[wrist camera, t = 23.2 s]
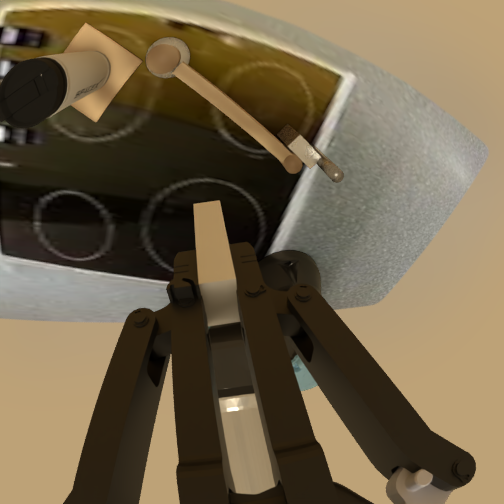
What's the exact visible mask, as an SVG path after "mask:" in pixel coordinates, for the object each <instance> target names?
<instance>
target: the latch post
mask: <svg viewBox="0 0 504 504" xmlns="http://www.w3.org/2000/svg"><path fill="white" fill-rule="evenodd" d="M277 136H278V137H279V138H280V139H281V140H282V141H283V142H284V143H285V144H286V145H287V146H288V147H289V148H290V149H291V150H292V151H293V152H294V153H295V154H296V155H297V156H298V157H299V158H300V159H301V160H302V161H303V162H304V163H305V164H306V165H307V166H308V167H309V168H310V169H311V168H312V167H313V166H314V165H315V164H317V165H318V166H319V167H320V168H321V169H322V170H323V171H324V172H325V173H326V174H327V175H328V176H329V177H330V179H331V180H332V181H333V182H336V183H338V182H340V181H342V179H343V177H344V174H343V172H342V171H341V170H340V169H339V168H338V167H337V166H336V165H335V164H334V163H333V162H332V161H330V160H329V159H328V158H327V157H326V156H325V155H324V154H323V153H322V152H321V151H320V150H318V149H317V148H316V147H315V146H314V145H313V144H309V143H308V142H307V141H306V140H305V139H304V138H303V137H302V136H301V135H300V134H299V133H298V132H297V131H295V130H294V129H293V128H292V127H291V126H290V125H288V124H287V125H286V126H285V127H284V128H283V129H282V130H281V131H280V132H279V133H278V134H277Z"/></svg>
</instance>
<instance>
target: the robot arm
mask: <svg viewBox="0 0 504 504" xmlns="http://www.w3.org/2000/svg"><path fill="white" fill-rule="evenodd" d="M194 222H195V239H196V250H192V251H185V252H178V253H177V255H176V257H175V259H174V279H173V280H172V281H171V282H170V283H169V284H168V285H167V289H166V290H167V293H168V296H169V299H170V303H169V304H168V305H167V306H166V307H164V308H162V309H160V310H158V311H155V312H153V311H152V310H150V309H147V308H139V309H137V310H134V311H133V312H132V313H130V314H129V316H128V317H127V319H126V321H125V324H124V326H123V329H122V332H121V334H120V337H119V339H118V342H117V345H116V347H115V350H114V353H113V356H112V358H111V361H110V364H109V367H108V370H107V372H106V376H105V378H104V381H103V384H102V387H101V390H100V393H99V396H98V399H97V402H96V405H95V409H94V412H93V415H92V419H91V422H90V425H89V428H88V432H87V435H86V439H85V443H84V446H83V450H82V453H81V457H80V461H79V465H78V469H77V473H76V477H75V481H74V486H73V490H72V491H71V493H70V494H69V496H68V497H67V499H66V500H65V502H64V503H63V504H139V500H140V494H141V489H142V483H143V478H144V472H145V467H146V462H147V457H148V452H149V447H150V442H151V437H152V432H153V428H154V423H155V419H156V414H157V410H158V405H159V401H160V396H161V392H162V388H163V384H164V379H165V375H166V371H167V367H168V363H169V359H170V354H172V375H173V376H172V377H173V394H174V411H175V423H176V435H177V446H178V455H179V464H178V466H177V470H176V475H177V485H178V493H179V500H180V504H374V503H372V502H370V501H368V500H366V499H365V498H363V497H361V496H360V495H358V494H356V493H355V492H353V491H352V490H350V489H348V488H347V487H345V486H343V485H341V484H339V483H336V482H333V481H332V477H331V474H330V471H329V468H328V464H327V461H326V458H325V455H324V452H323V449H322V447H321V445H320V444H319V443H318V442H317V441H316V439H315V436H314V433H313V430H312V426H311V423H310V420H309V417H308V414H307V410H306V407H305V404H304V401H303V397H302V394H301V391H305V390H308V389H311V388H313V387H316V386H317V385H318V386H319V387H320V389H321V390H322V392H323V393H324V395H325V396H326V398H327V399H328V401H329V402H330V404H331V405H332V407H333V408H334V409H335V411H336V412H337V414H338V415H339V417H340V418H341V420H342V421H343V423H344V424H345V426H346V427H347V428H348V430H349V431H350V433H351V434H352V436H353V437H354V439H355V440H356V442H357V443H358V444H359V446H360V447H361V449H362V450H363V452H364V453H365V455H366V456H367V457H368V459H369V460H370V461H371V463H372V464H373V465H374V466H375V468H376V469H377V470H378V471H379V472H380V473H381V474H382V475H383V476H384V477H386V478H387V479H388V480H389V481H388V483H387V486H386V493H387V496H388V497H389V498H390V500H391V501H392V502H393V503H394V504H444V503H445V501H446V500H447V499H448V497H449V495H450V493H451V492H452V491H453V490H455V489H457V488H460V487H462V486H464V485H466V484H467V483H469V482H470V481H471V479H472V478H473V476H474V474H475V471H476V463H475V460H474V458H473V457H472V456H471V455H470V454H469V453H468V452H466V451H464V450H463V449H461V448H459V447H458V446H456V445H454V444H452V443H451V442H449V441H447V440H446V439H444V438H443V437H441V436H439V435H438V434H436V433H434V432H433V431H431V430H430V429H429V427H428V426H427V425H426V423H425V422H424V421H423V420H422V418H421V417H420V416H419V415H418V413H417V412H416V411H415V410H414V408H413V407H412V406H411V404H410V403H409V402H408V401H407V399H406V398H405V397H404V396H403V394H402V393H401V392H400V391H399V389H398V388H397V387H396V386H395V384H394V383H393V382H392V381H391V379H390V378H389V377H388V376H387V374H386V373H385V372H384V371H383V370H382V368H381V367H380V366H379V365H378V363H377V362H376V361H375V360H374V358H373V357H372V356H371V355H370V354H369V352H368V351H367V350H366V349H365V347H364V346H363V345H362V344H361V343H360V341H359V340H358V339H357V338H356V336H355V335H354V334H353V333H352V332H351V331H350V329H349V328H348V327H347V326H346V324H345V323H344V322H343V321H342V320H341V318H340V317H339V316H338V315H337V314H336V312H335V311H334V310H333V309H332V308H331V306H330V305H329V304H328V303H327V302H326V300H325V299H324V298H323V297H322V296H321V278H320V272H319V269H318V267H317V265H316V263H315V262H314V260H313V259H312V258H311V257H310V256H308V255H307V254H305V253H302V252H299V251H281V252H277V253H274V254H271V255H269V256H267V257H265V258H264V259H262V260H261V261H259V262H258V261H257V258H256V256H255V252H254V249H253V247H252V246H251V245H250V244H249V243H248V242H243V243H236V244H229V243H228V239H227V234H226V229H225V224H224V219H223V214H222V209H221V204H220V200H219V201H212V202H205V203H198V204H194Z"/></svg>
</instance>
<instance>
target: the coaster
mask: <svg viewBox="0 0 504 504" xmlns="http://www.w3.org/2000/svg"><path fill="white" fill-rule="evenodd" d="M83 51H99V52H101V53H103V54H104V55H106V57H107V58H108V60H109V62H110V65H111V72H110V76H109V78H108V80H107V82H106V83H105V84H104V86H102V87H101V88H100V89H98V90H97V91H95V92H93V93H91V94H89V95H87V96H85V97H83V98H82V99H80V100H78V101H76V102H74V103H73V104H71V106H73V107H74V108H76V109H77V110H79V111H80V112H82V113H83V114H85V115H86V116H87V117H89V118H90V119H92V120H93V121H95V122H97V121H98V120H99V118H100V117H101V115H102V114H103V112H104V111H105V109H106V108H107V107H108V105H109V104H110V102H111V101H112V100H113V98H114V97H115V96H116V94H117V93H118V92H119V90H120V89H121V88H122V86H123V85H124V84H125V82H126V81H127V80H128V79H129V77H130V76H131V75H132V74H133V72H134V71H135V70H136V69H137V68H138V66H139V65H140V64H141V63H142V62H143V61H142V60H141V59H139V58H138V57H136V56H135V55H134V54H132V53H131V52H129V51H128V50H126V49H125V48H124V47H122V46H121V45H119V44H118V43H116V42H115V41H113V40H112V39H110V38H109V37H107V36H106V35H104V34H103V33H101V32H100V31H98V30H97V29H95V28H94V27H92V26H90V25H89V24H87V23H85V24H84V26H83V27H82V28H81V29H80V31H79V32H78V33H77V35H76V36H75V37H74V39H73V40H72V42H71V43H70V44H69V46H68V47H67V49H66V50H65V52H64V53H73V52H83ZM64 53H63V54H64Z"/></svg>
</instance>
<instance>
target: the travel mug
mask: <svg viewBox="0 0 504 504" xmlns="http://www.w3.org/2000/svg"><path fill="white" fill-rule="evenodd" d="M110 72H111V65H110V62H109V60H108V58H107V57H106V55H104V54H103V53H101V52H99V51H83V52H73V53H64V54H56V55H49V56H43V57H38V58H35V59H29V60H25V61H22V62H20V63H19V64H17V65H15V66H14V67H13V68H12V69H11V70H10V71H9V72H8V73H7V74H6V76H5V77H4V79H3V81H2V83H1V86H0V121H1V122H2V121H4V120H6V121H7V122H8V123H9V124H10V125H12V126H14V127H17V128H29V127H33V126H35V125H37V124H39V123H40V122H42V121H44V120H45V119H47V118H49V117H51V116H52V115H54V114H56V113H57V112H59V111H61V110H62V109H64V108H66V107H67V106H69V105H71V104H73V103H74V102H76V101H78V100H80V99H82V98H83V97H85V96H87V95H89V94H91V93H93V92H95V91H97V90H98V89H100V88H101V87H102V86H104V84H105V83H106V82H107V80H108V78H109V76H110Z"/></svg>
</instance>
